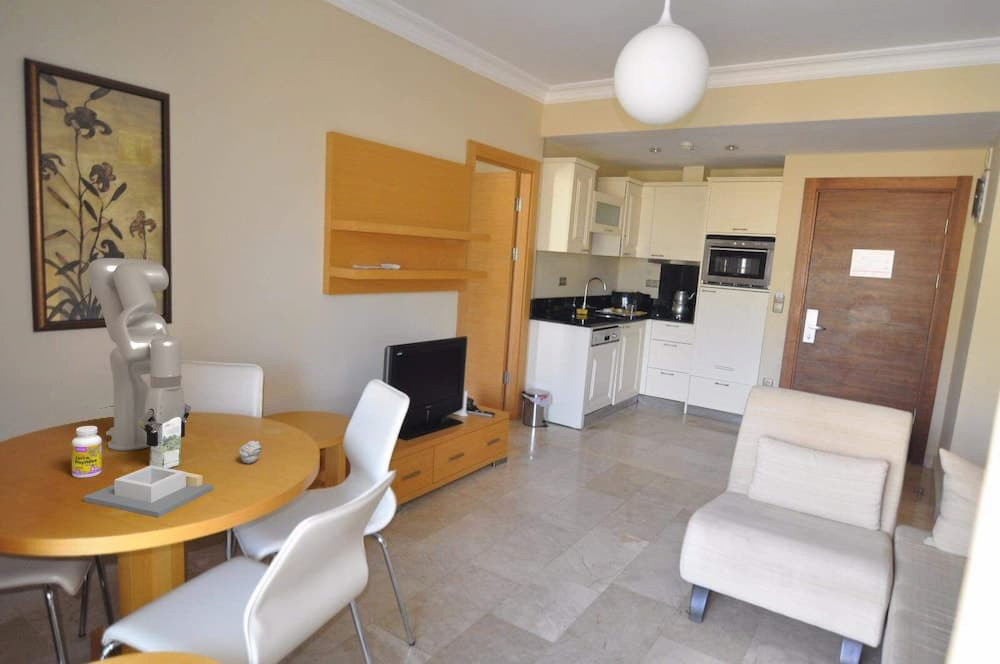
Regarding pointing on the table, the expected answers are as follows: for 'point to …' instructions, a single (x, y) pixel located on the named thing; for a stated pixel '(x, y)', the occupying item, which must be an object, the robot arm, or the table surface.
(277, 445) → the table surface
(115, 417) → the robot arm
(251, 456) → the white wrinkled round lump
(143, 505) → the socket jig
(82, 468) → the supplement bottle
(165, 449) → the syrup box
